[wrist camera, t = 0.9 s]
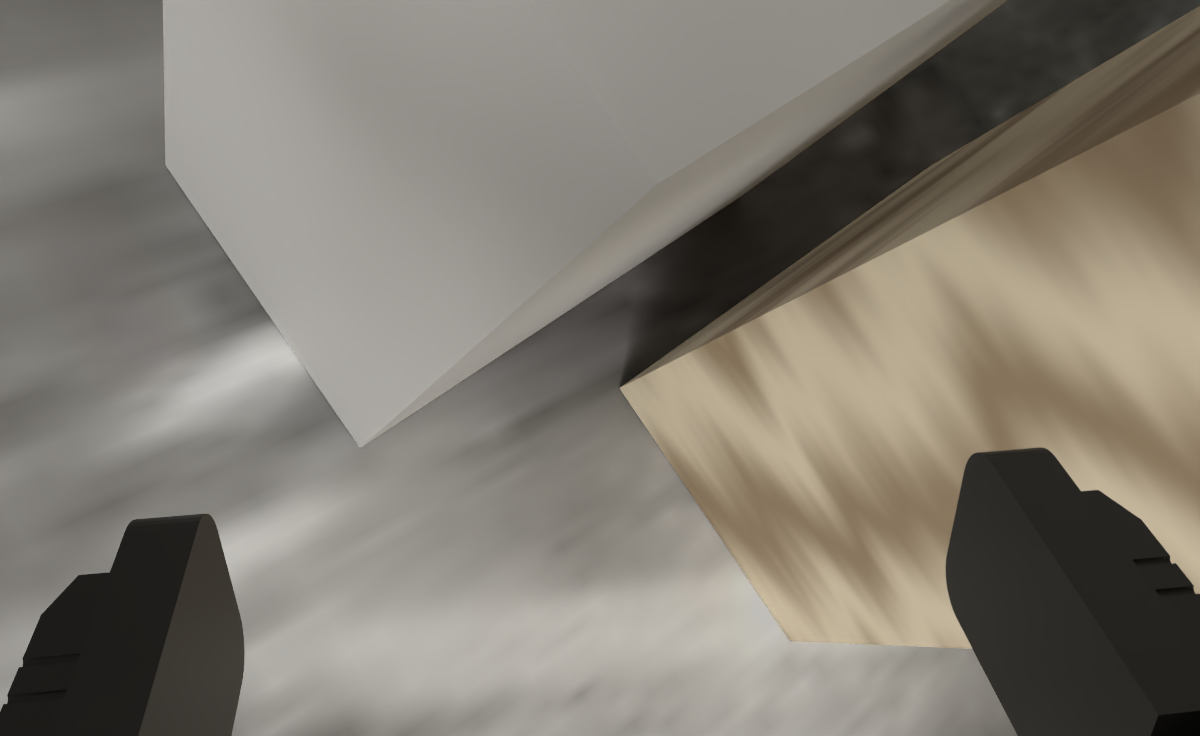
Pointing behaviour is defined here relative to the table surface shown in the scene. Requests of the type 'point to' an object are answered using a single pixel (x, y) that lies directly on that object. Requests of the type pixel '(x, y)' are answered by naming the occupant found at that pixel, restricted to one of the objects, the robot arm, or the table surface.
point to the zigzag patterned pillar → (960, 356)
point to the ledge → (492, 154)
